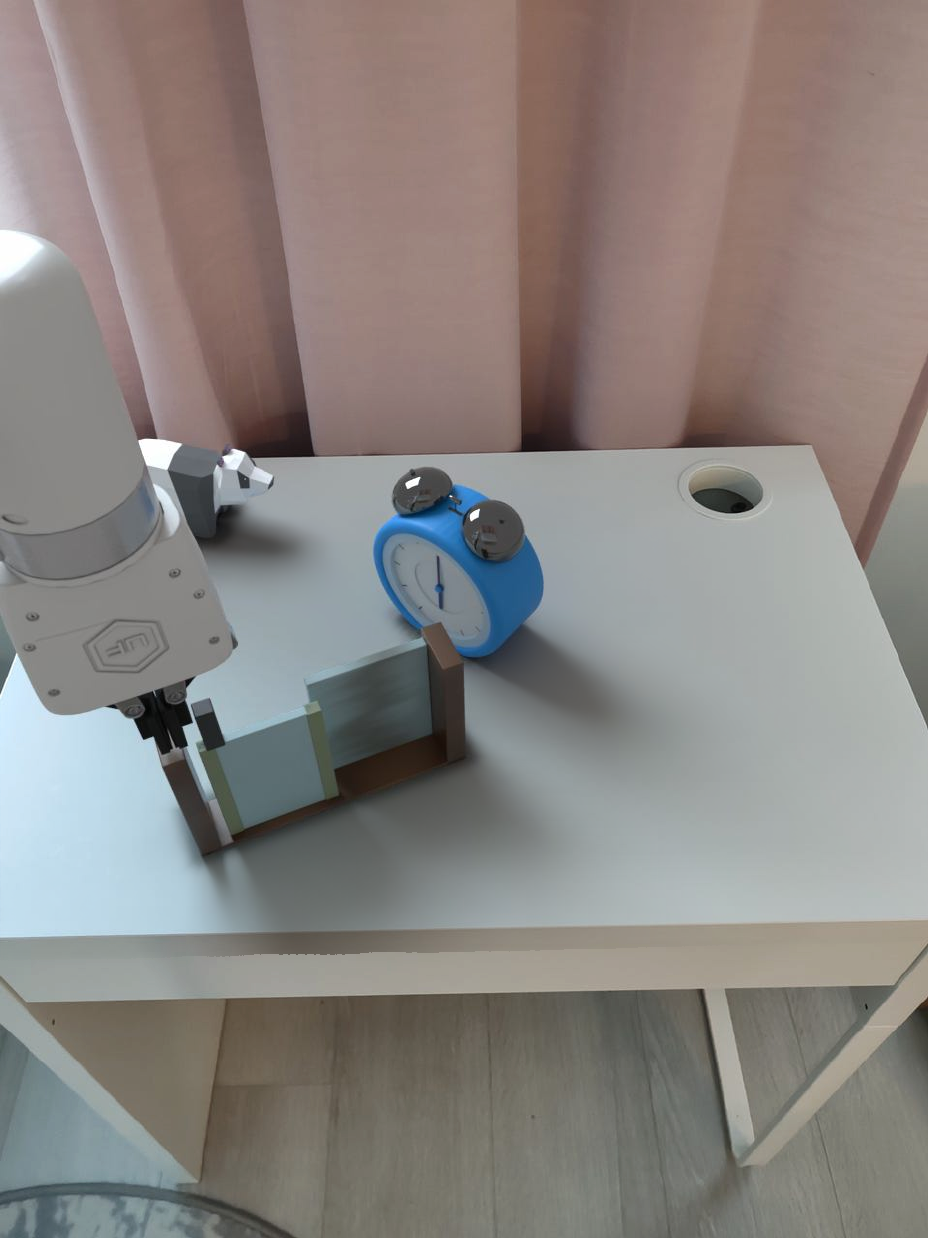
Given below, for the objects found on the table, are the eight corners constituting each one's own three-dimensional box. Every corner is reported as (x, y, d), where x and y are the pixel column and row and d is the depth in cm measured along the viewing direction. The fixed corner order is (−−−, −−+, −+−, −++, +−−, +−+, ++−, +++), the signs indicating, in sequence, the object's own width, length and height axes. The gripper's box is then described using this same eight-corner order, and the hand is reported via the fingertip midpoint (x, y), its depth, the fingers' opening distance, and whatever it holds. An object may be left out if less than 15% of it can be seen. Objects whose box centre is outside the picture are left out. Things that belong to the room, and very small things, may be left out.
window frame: (205, 865, 70) (161, 767, 60) (192, 819, 72) (148, 718, 63) (466, 766, 75) (464, 662, 65) (445, 726, 77) (440, 620, 68)
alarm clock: (377, 612, 85) (361, 478, 74) (423, 571, 88) (415, 436, 77) (498, 687, 80) (501, 555, 68) (543, 640, 83) (553, 507, 72)
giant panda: (122, 538, 92) (92, 457, 84) (145, 498, 95) (118, 417, 88) (275, 557, 90) (257, 476, 83) (293, 516, 93) (277, 434, 86)
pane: (231, 837, 70) (186, 721, 59) (227, 823, 70) (181, 706, 60) (339, 797, 72) (315, 677, 61) (334, 784, 72) (309, 663, 62)
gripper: (-92, 613, 42) (53, 828, 56) (251, 512, 46) (307, 737, 60) (-102, 504, 47) (35, 728, 61) (211, 419, 50) (272, 649, 64)
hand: (170, 732), depth 60 cm, fingers closed
